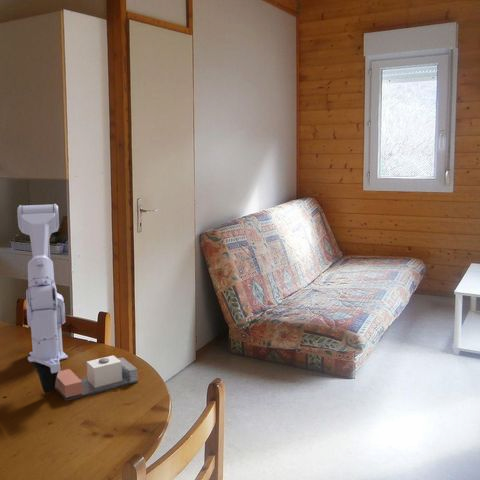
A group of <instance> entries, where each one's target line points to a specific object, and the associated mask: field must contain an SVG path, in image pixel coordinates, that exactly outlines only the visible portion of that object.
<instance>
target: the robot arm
mask: <svg viewBox="0 0 480 480" xmlns="http://www.w3.org/2000/svg"><path fill="white" fill-rule="evenodd" d="M16 213H17V224H18V229H19V230H20V231H21V233H22V234H25V235H27V236H29V239H30V240H29V241H30V246H31V253H32V255H31V256H32V258H31V259H30V260H28V262H27V283H28V285H27V286H28V287H27V288H26V292H25V293H26V294H25V296H26V297H25V298H26V321H27V326H28V327H29V328H30V331H31V332H30V333H31V344H32V345H31V346H32V351H30V352H29V356H27V360H28V362H30V363H31V362H33V363H32V366H33V367H34V369H35V371H36V373H37V375H38V378H39V382H40V384H41V388H42V391H43V392H44V394H48V393H53V392H55V390H56V389H55V383H56V378H57V374H58V372H60V371H62V369H61V367H62V363H61V362H60V361H61V360H65V359H69V357H68V356H69V355H67V354H66V353H65V352H64V351H63V350H64V349H63V336H62V335H63V333H62V325H64V324H65V323H66V307H65V302H64V297H63V295H62V294H60V293H58V289H57V286H56V281H55V271H54V262H53V260H52V259H51V249H50V246H51V245H50V238H51V235H52V234H53V233H56V232H58V231H59V228H60V215H59V205H57V203H53V204H32V205H31V204H30V205H22V204H19V206H18V207H17V212H16Z"/></svg>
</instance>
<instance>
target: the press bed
mask: <svg viewBox="0 0 480 480" xmlns="http://www.w3.org/2000/svg"><path fill="white" fill-rule="evenodd" d="M117 359H119V360H120V361H121V364H122V381H119V382H115V383H111V384H108V385H104V386H100V387H96V388H95V387H94V386H93V385H92V384H91V383H90V382H89V381H88V376H87V377H82V378H79V379H80V380H81V381H82V388H83V394H79V395H75V396H71V397H68V398H66V397H65V396H64V395H63V394H62V393H61V392H60V391H59V389H58V388H57V387H56V386H55V389H54V390H56V392H57V393H59V395H60V396H61V397H62V398H63V399H64V401H66V402H68V401H72V400H75V399H80V398H83V397H87V396H91V395H94V394H99V393H101V392H105V391H109V390H113V389H116V388H121V387H125V386H128V385H132V384H135V383H138V382H139V381H138V380H139V376H138V368H137V367H136V366H134V365H133V364H132V363H130V362H129V361H128V360H127V359H126V358H124V357H119V358H118V357H117Z"/></svg>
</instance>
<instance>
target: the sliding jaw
mask: <svg viewBox="0 0 480 480" xmlns="http://www.w3.org/2000/svg"><path fill="white" fill-rule="evenodd" d="M80 379H81V378H79V377H78V376H77V375H76V373H74V372H73V371H72V370H71V369H70V368H68V369H63V370H61V371H60V372H58V374H57V378H56V383H55V386H56V387H57V388H58V389H59V391H60V392H61V393H62V394H63V395H64V396H65V397H66V398H68V397H71V396H75V395H79V394H83V388H82V381H81V380H80Z"/></svg>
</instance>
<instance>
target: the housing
mask: <svg viewBox="0 0 480 480" xmlns="http://www.w3.org/2000/svg"><path fill="white" fill-rule="evenodd" d="M86 375H87V377H88V381H89V382H90V383H91V384H92V385H93V386H94V387H95V388H96V387H100V386H104V385H108V384H111V383H115V382H119V381H122V364H121V361H120V360H119V359H118V357H116V356H115V355H109V356H104V357H100V358H96V359H92V360H87V361H86Z"/></svg>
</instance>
